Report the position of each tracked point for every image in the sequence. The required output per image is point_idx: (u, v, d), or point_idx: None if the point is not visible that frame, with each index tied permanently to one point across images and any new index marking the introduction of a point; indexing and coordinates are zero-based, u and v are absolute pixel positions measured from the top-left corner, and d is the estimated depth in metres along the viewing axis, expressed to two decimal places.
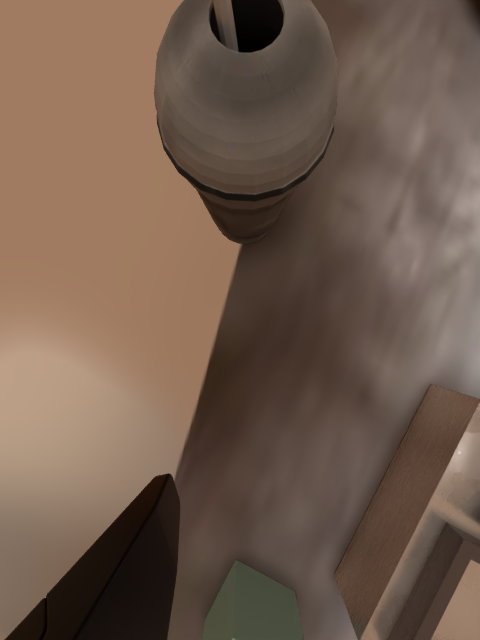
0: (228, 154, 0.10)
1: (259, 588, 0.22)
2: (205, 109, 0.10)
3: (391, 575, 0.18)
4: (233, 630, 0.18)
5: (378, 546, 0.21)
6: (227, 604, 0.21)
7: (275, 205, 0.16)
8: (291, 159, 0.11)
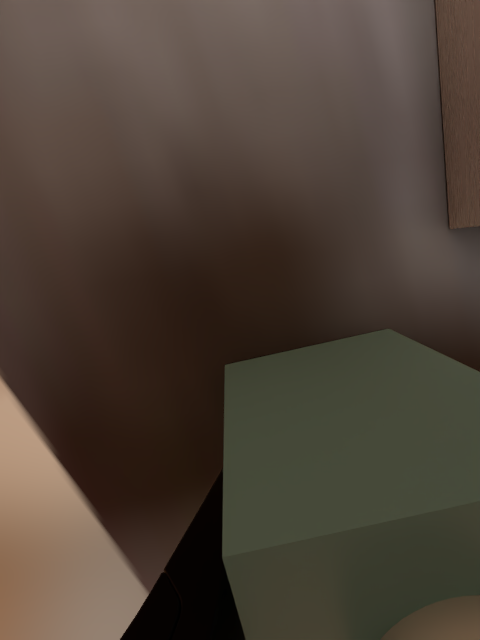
0: None
1: (300, 368, 0.08)
2: None
3: None
4: (227, 519, 0.04)
5: None
6: None
7: None
8: None
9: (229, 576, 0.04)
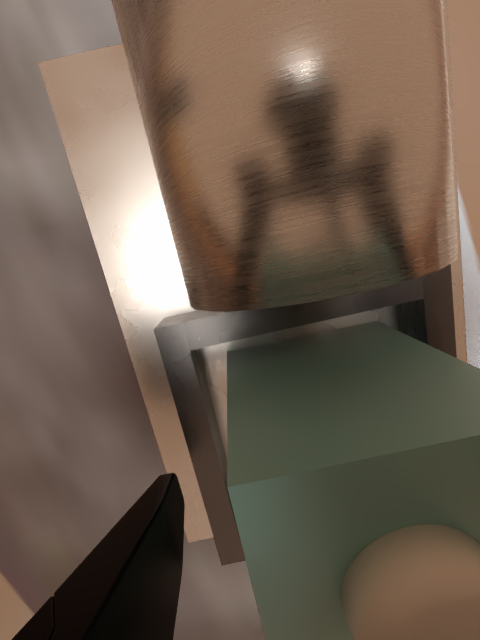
0: None
1: (295, 354, 0.09)
2: None
3: (158, 443, 0.11)
4: (231, 464, 0.05)
5: None
6: None
7: None
8: None
9: (232, 503, 0.04)
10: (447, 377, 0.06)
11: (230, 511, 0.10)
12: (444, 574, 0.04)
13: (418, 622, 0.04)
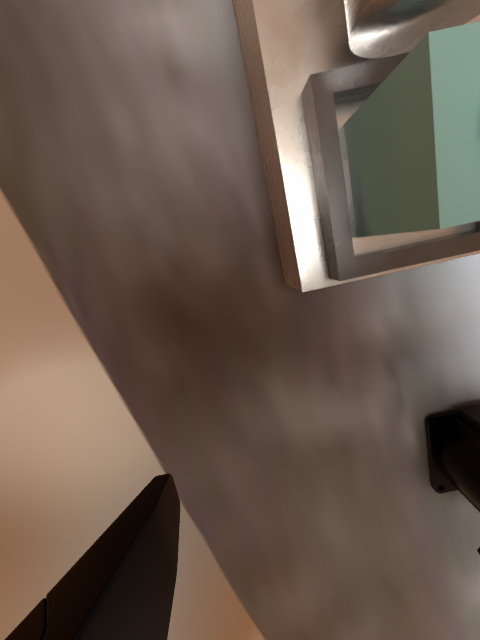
0: None
1: None
2: None
3: (287, 202, 0.15)
4: (419, 43, 0.09)
5: (278, 202, 0.17)
6: (375, 123, 0.11)
7: None
8: None
9: (430, 42, 0.08)
10: None
11: (349, 232, 0.13)
12: None
13: None
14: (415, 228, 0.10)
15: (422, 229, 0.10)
